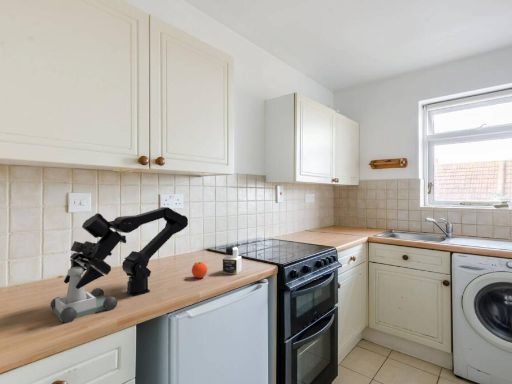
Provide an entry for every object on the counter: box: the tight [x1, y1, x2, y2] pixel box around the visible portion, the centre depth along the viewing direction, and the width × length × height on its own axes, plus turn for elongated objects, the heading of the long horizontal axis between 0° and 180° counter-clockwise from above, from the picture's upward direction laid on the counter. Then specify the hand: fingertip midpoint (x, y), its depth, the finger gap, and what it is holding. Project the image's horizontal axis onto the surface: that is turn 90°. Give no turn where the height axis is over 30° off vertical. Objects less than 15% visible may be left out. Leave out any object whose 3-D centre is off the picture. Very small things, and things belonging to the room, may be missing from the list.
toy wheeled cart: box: [49, 287, 118, 323], centre depth 95 cm, size 16×14×4 cm
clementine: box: [191, 261, 208, 279], centre depth 129 cm, size 8×7×7 cm
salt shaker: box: [66, 267, 87, 304], centre depth 93 cm, size 6×6×13 cm
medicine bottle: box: [222, 246, 243, 275], centre depth 137 cm, size 7×7×12 cm
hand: (70, 285), depth 92 cm, fingers open, 9 cm apart
